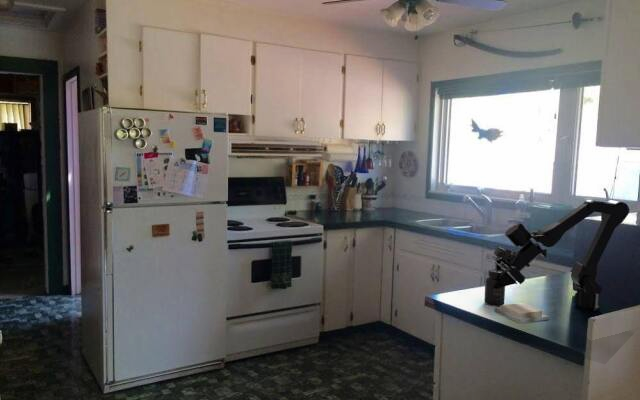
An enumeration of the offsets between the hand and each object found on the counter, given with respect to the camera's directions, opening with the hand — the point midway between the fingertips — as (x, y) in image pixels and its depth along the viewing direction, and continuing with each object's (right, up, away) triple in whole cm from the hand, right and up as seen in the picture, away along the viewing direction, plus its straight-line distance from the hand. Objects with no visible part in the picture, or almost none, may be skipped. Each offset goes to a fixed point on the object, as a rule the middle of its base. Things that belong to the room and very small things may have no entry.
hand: (491, 285), depth 184 cm
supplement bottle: (+1, -7, +1) cm, 7 cm away
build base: (+6, -8, -12) cm, 16 cm away
